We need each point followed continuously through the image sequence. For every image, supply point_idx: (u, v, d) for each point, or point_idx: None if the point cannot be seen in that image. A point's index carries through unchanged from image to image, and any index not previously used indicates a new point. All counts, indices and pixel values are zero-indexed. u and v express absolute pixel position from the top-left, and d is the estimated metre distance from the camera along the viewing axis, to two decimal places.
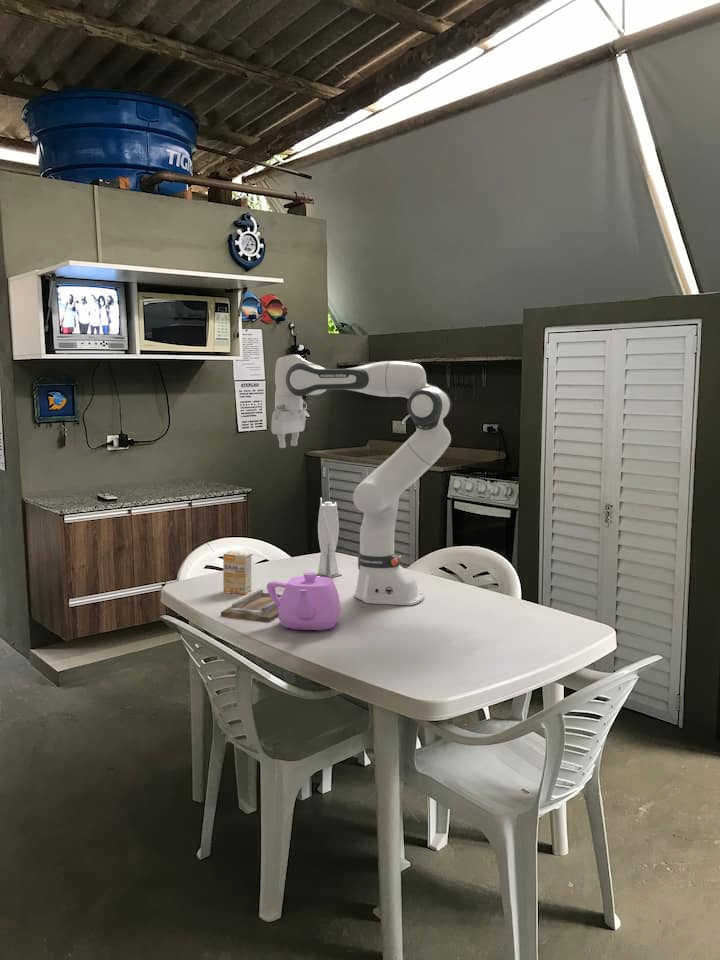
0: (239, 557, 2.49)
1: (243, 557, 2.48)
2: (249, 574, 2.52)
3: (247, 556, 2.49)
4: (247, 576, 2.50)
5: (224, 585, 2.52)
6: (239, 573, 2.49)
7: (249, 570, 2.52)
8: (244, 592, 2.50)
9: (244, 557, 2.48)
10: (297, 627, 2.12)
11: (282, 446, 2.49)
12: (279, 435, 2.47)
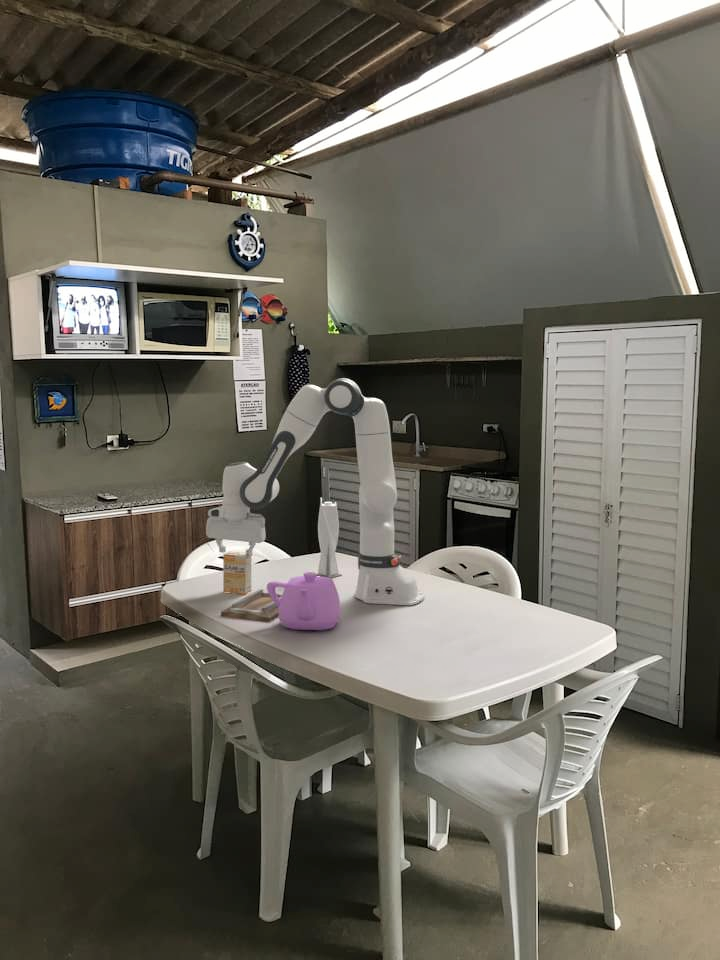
0: (239, 557, 2.49)
1: (243, 557, 2.48)
2: (249, 574, 2.52)
3: (247, 556, 2.49)
4: (247, 576, 2.50)
5: (224, 585, 2.52)
6: (239, 574, 2.49)
7: (249, 570, 2.52)
8: (244, 592, 2.50)
9: (244, 557, 2.48)
10: (297, 627, 2.12)
11: (251, 553, 2.50)
12: (253, 543, 2.48)
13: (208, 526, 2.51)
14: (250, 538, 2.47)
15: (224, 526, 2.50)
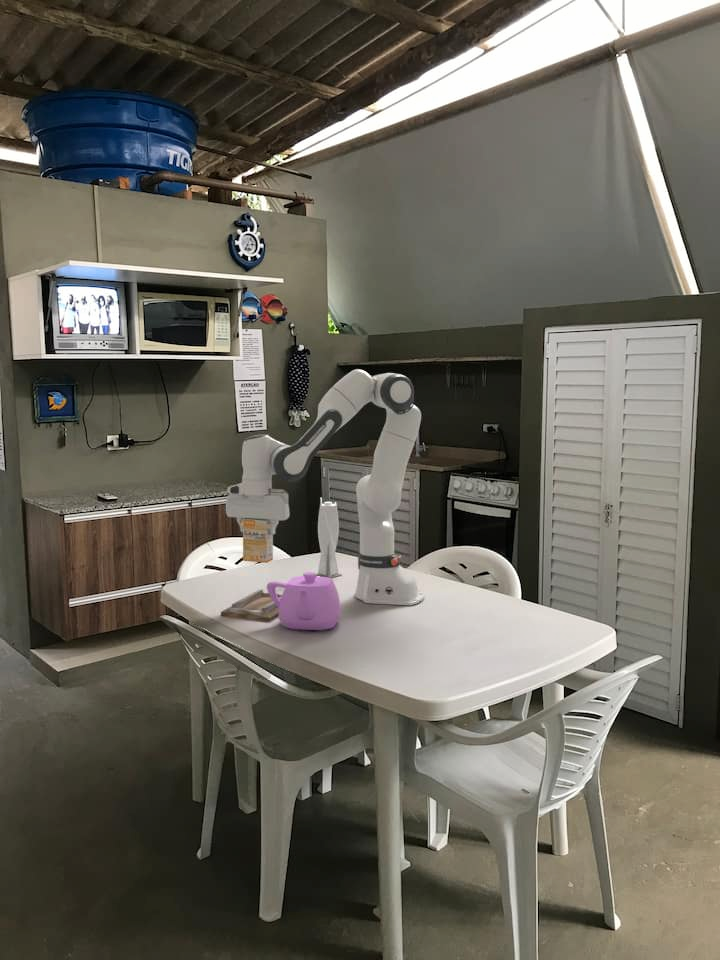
0: (260, 522, 2.32)
1: (264, 522, 2.32)
2: (270, 541, 2.35)
3: (268, 521, 2.33)
4: (269, 543, 2.34)
5: (244, 553, 2.35)
6: (259, 540, 2.33)
7: (271, 536, 2.35)
8: (265, 560, 2.33)
9: (265, 522, 2.31)
10: (297, 627, 2.12)
11: (274, 532, 2.33)
12: (276, 521, 2.32)
13: (228, 504, 2.35)
14: (273, 515, 2.30)
15: (244, 503, 2.34)
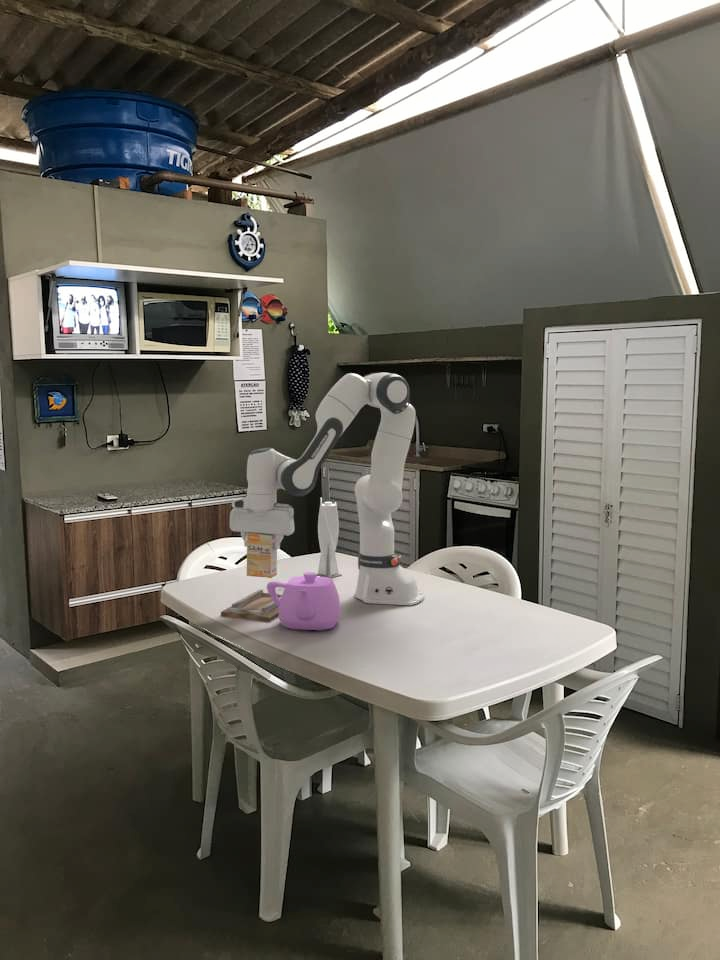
0: (264, 537, 2.29)
1: (268, 537, 2.29)
2: (275, 556, 2.32)
3: (273, 536, 2.30)
4: (273, 557, 2.31)
5: (247, 568, 2.32)
6: (264, 555, 2.30)
7: (275, 551, 2.32)
8: (269, 575, 2.30)
9: (270, 537, 2.29)
10: (297, 627, 2.12)
11: (279, 547, 2.31)
12: (281, 536, 2.29)
13: (232, 518, 2.32)
14: (278, 530, 2.28)
15: (249, 518, 2.31)
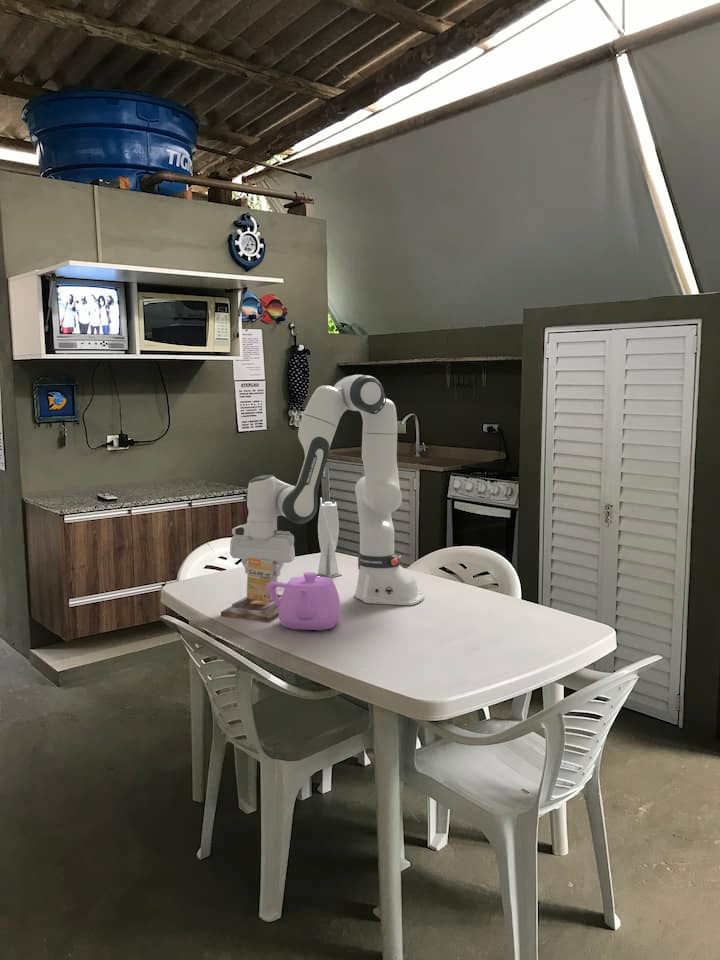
0: (265, 562, 2.29)
1: (269, 562, 2.29)
2: (275, 580, 2.32)
3: None
4: None
5: (248, 591, 2.33)
6: (264, 580, 2.30)
7: (275, 576, 2.32)
8: (269, 600, 2.31)
9: (270, 562, 2.29)
10: (297, 627, 2.12)
11: (279, 574, 2.31)
12: (282, 563, 2.30)
13: (232, 545, 2.33)
14: (279, 557, 2.28)
15: (249, 545, 2.31)
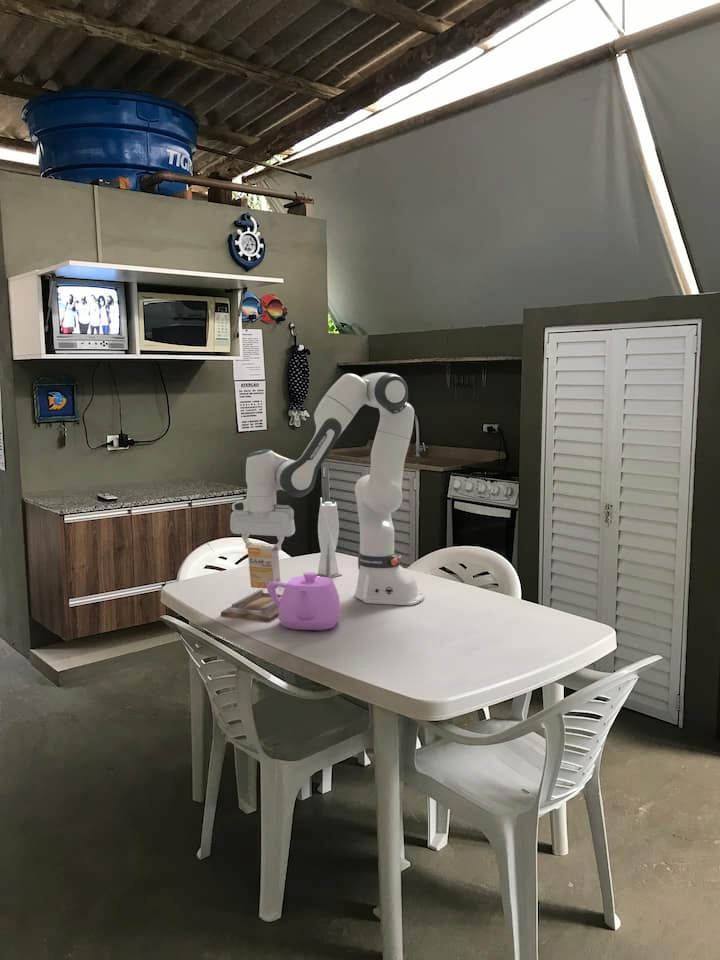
0: (264, 550, 2.29)
1: (268, 550, 2.29)
2: (277, 567, 2.33)
3: (273, 549, 2.30)
4: (275, 569, 2.31)
5: (251, 580, 2.33)
6: (265, 567, 2.30)
7: (277, 562, 2.32)
8: None
9: (269, 550, 2.29)
10: (297, 627, 2.12)
11: (280, 548, 2.31)
12: (282, 537, 2.29)
13: (232, 521, 2.32)
14: (279, 531, 2.28)
15: (249, 520, 2.31)
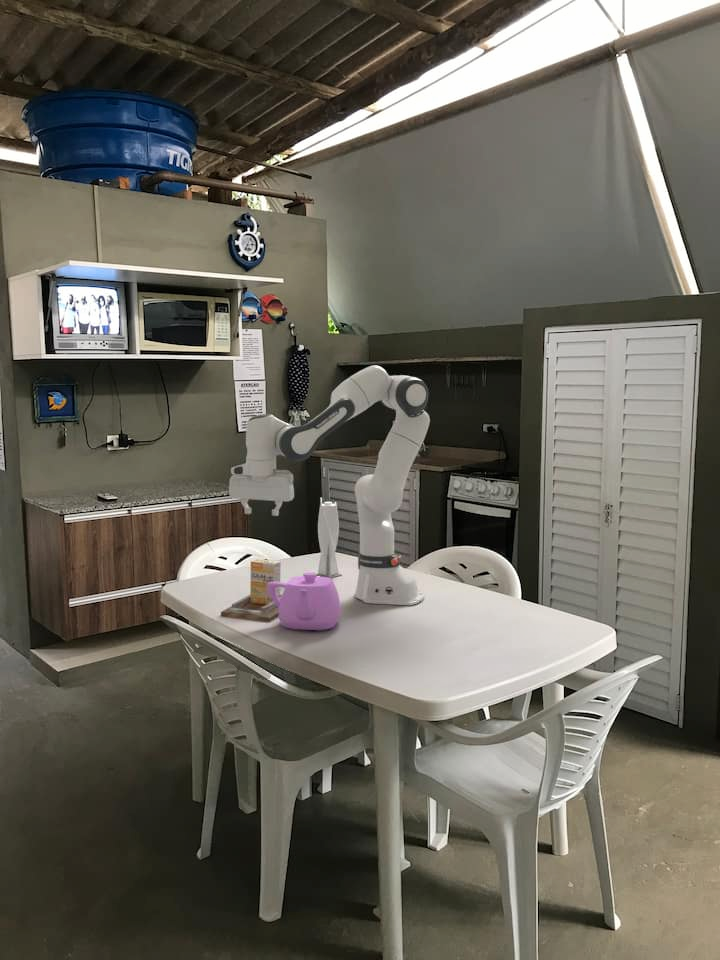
0: (267, 565, 2.32)
1: (271, 565, 2.32)
2: None
3: (276, 564, 2.33)
4: None
5: (251, 595, 2.35)
6: (267, 583, 2.33)
7: (278, 579, 2.35)
8: None
9: (272, 565, 2.32)
10: (297, 627, 2.12)
11: (277, 513, 2.30)
12: (280, 502, 2.28)
13: (231, 485, 2.31)
14: (278, 496, 2.27)
15: (248, 484, 2.30)
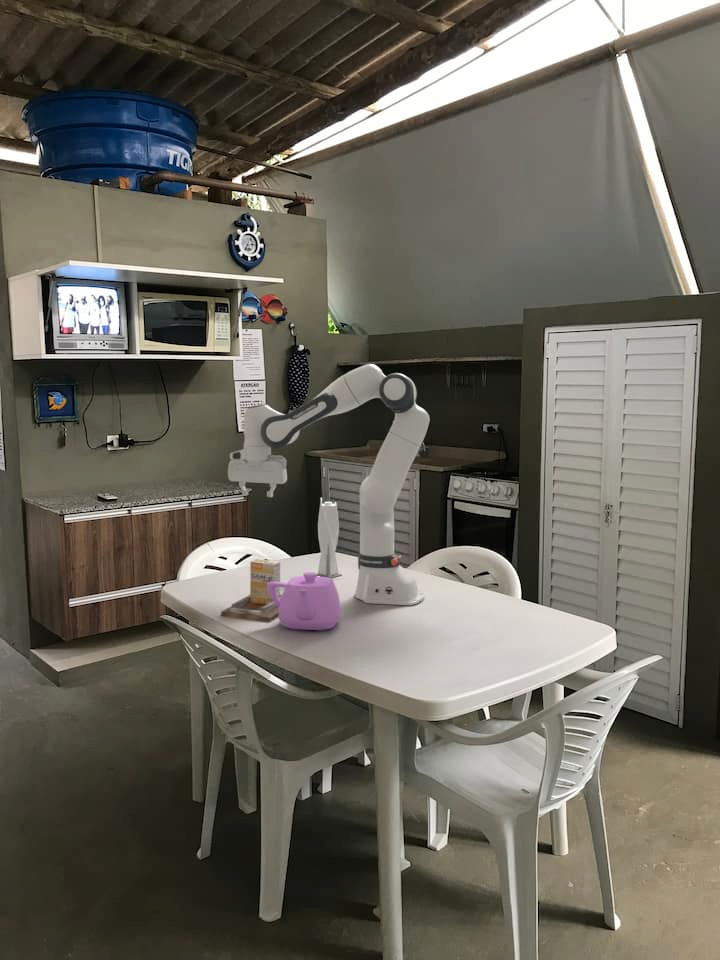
0: (267, 565, 2.32)
1: (271, 566, 2.32)
2: None
3: (275, 564, 2.33)
4: None
5: (251, 595, 2.35)
6: (267, 583, 2.33)
7: (278, 579, 2.35)
8: None
9: (272, 566, 2.32)
10: (297, 627, 2.12)
11: (272, 495, 2.53)
12: (274, 484, 2.51)
13: (230, 469, 2.54)
14: (272, 479, 2.50)
15: (245, 468, 2.53)
